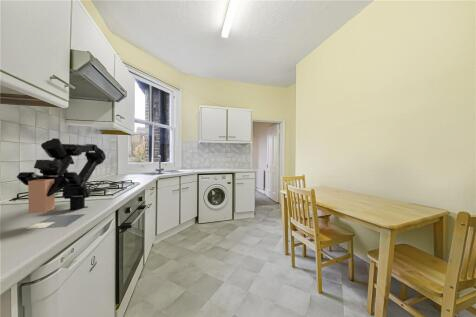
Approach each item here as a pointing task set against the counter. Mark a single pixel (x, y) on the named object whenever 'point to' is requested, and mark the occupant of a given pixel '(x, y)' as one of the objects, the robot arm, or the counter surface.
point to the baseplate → (56, 221)
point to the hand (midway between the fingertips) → (39, 196)
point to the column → (40, 196)
